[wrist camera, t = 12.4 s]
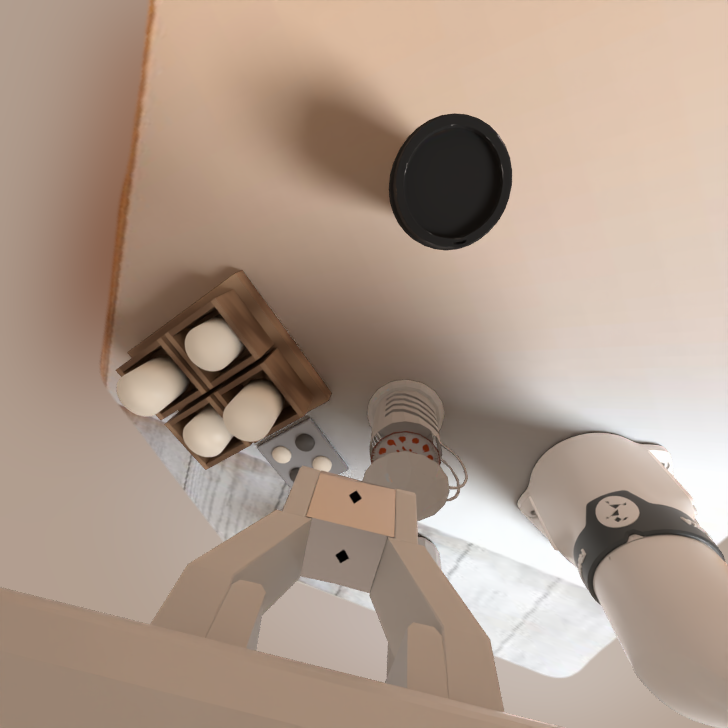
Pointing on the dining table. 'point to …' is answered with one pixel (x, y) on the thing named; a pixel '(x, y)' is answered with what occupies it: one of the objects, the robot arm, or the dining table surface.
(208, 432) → the button
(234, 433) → the button
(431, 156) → the coffee cup
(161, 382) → the button
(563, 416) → the dining table surface
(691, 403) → the dining table surface
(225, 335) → the button
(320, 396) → the button board
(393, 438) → the french press
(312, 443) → the pattern card
